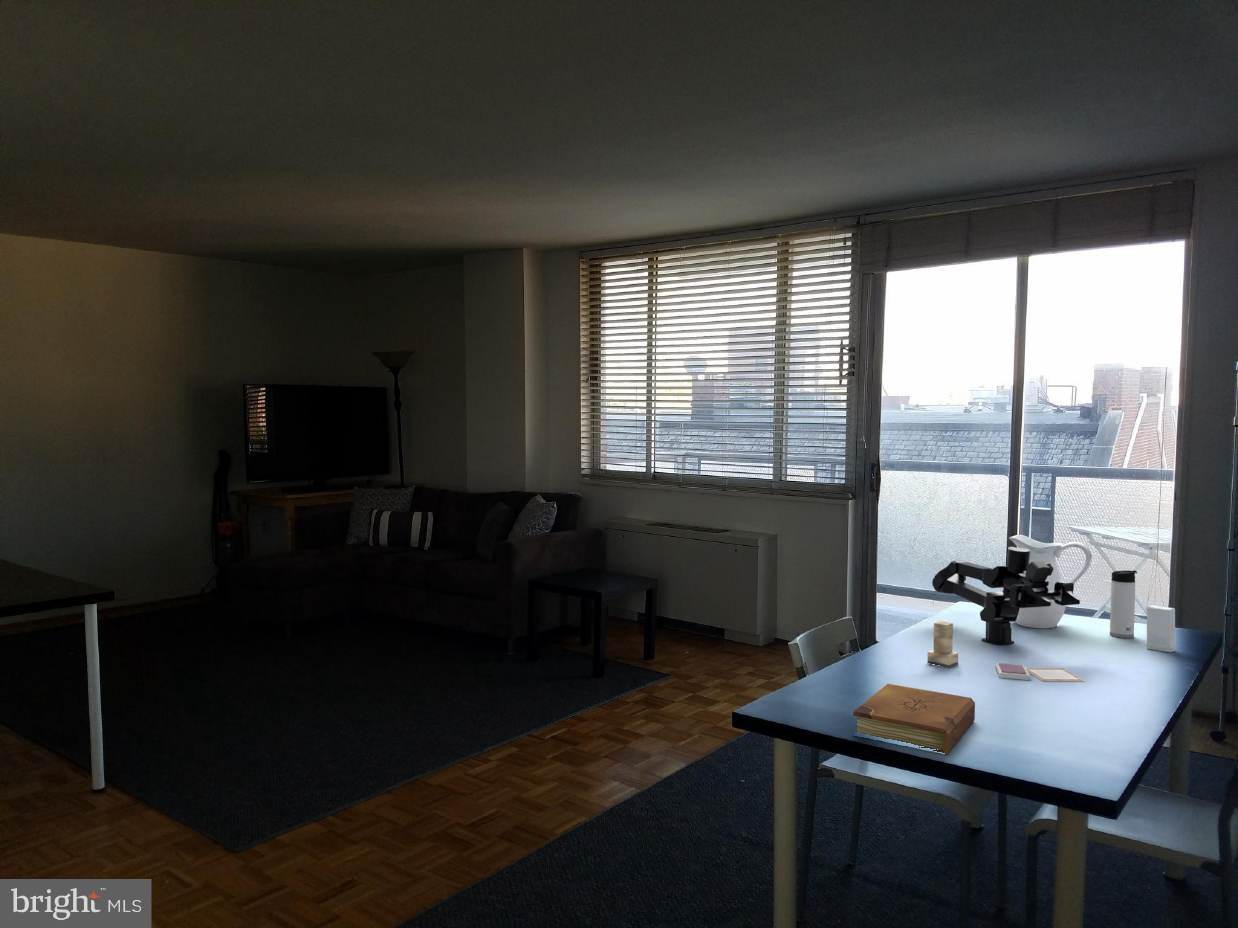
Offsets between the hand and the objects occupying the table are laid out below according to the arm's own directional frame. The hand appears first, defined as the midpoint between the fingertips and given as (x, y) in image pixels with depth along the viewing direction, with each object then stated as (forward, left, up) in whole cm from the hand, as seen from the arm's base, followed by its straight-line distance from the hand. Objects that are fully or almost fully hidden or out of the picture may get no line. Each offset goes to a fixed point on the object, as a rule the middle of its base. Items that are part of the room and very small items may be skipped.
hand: (1064, 603), depth 229 cm
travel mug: (-15, +44, -17) cm, 49 cm away
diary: (+21, -70, -17) cm, 75 cm away
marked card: (+5, -10, -17) cm, 20 cm away
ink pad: (0, -19, -17) cm, 25 cm away
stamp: (-14, -28, -17) cm, 36 cm away
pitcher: (-33, +34, -17) cm, 50 cm away
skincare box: (0, +39, -17) cm, 42 cm away
